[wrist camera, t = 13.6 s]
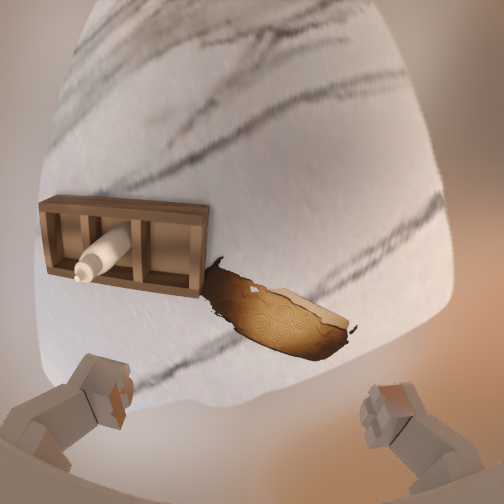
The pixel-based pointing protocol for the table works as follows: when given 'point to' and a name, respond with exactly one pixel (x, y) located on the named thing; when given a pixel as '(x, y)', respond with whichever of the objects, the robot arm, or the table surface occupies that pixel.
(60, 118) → the table surface
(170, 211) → the slot rack
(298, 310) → the parchment
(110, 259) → the eye dropper bottle
